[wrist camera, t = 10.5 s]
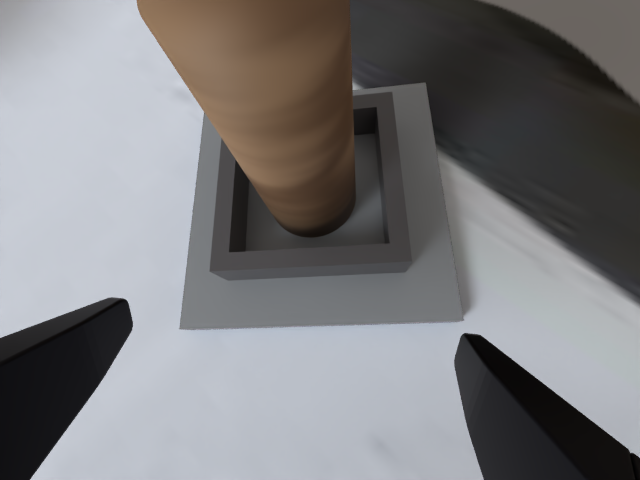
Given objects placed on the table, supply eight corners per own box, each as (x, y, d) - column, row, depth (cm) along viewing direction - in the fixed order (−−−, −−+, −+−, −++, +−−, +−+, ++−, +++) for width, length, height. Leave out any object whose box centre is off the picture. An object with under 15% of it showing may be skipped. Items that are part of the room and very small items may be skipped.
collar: (458, 321, 18) (480, 316, 15) (188, 330, 20) (153, 326, 16) (422, 93, 23) (433, 51, 20) (210, 115, 25) (187, 80, 21)
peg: (318, 255, 19) (243, 86, 7) (253, 205, 21) (95, -2, 8) (373, 187, 20) (393, -66, 8) (306, 145, 22) (236, -119, 9)
